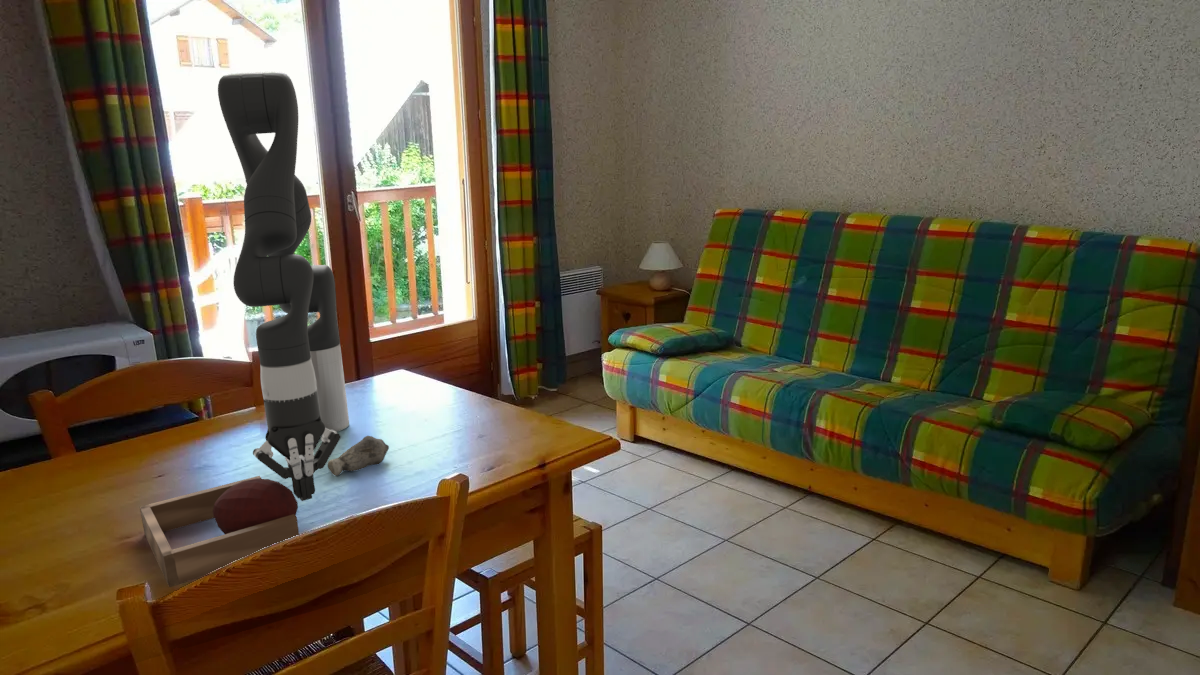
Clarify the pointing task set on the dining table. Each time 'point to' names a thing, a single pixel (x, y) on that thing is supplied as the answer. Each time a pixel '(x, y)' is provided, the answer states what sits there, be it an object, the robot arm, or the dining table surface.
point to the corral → (212, 551)
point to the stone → (359, 456)
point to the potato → (253, 504)
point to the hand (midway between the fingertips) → (305, 498)
